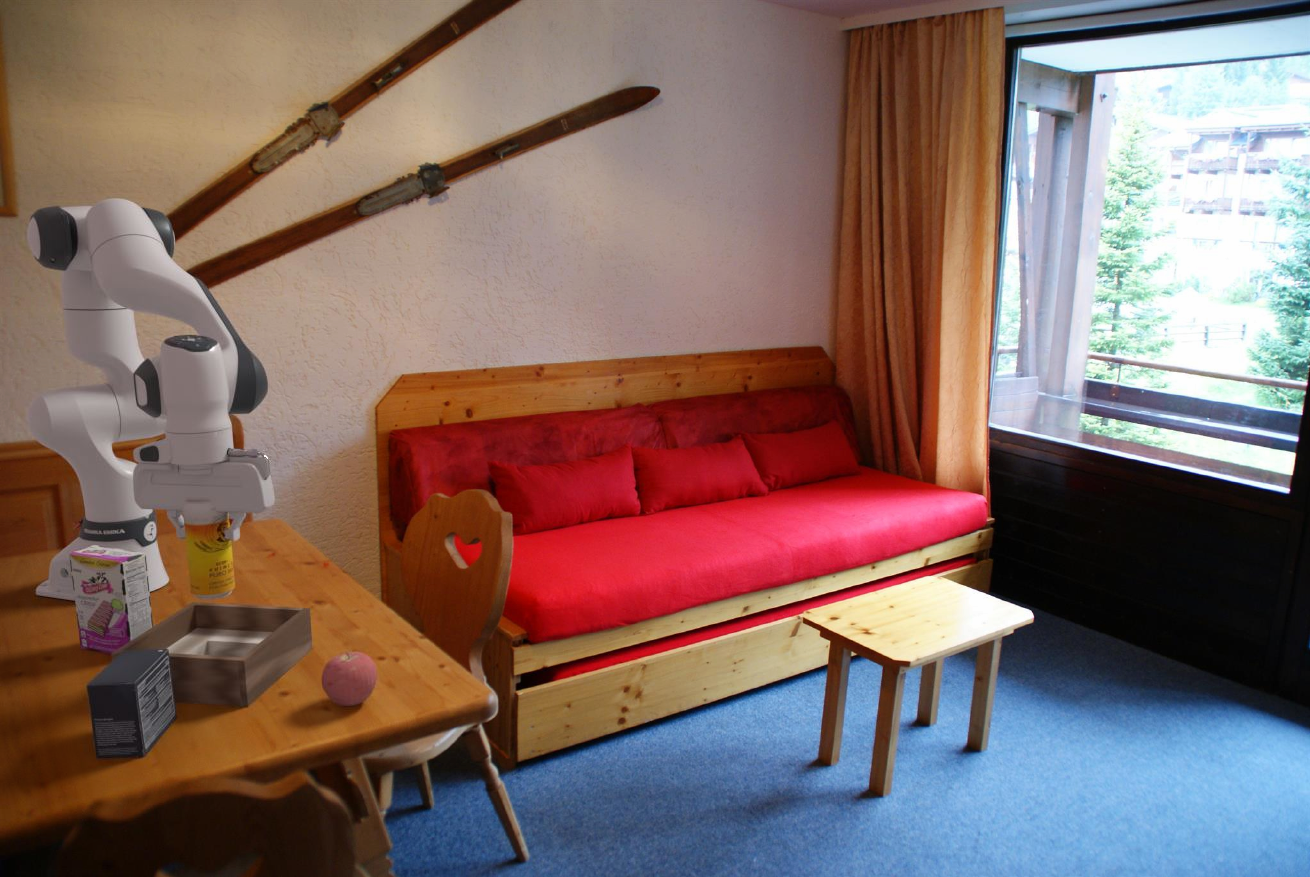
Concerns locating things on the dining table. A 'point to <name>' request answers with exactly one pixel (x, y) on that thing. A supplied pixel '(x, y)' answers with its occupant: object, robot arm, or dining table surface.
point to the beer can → (208, 551)
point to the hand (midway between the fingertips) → (208, 538)
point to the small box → (131, 703)
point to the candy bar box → (110, 596)
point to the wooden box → (228, 649)
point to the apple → (349, 678)
